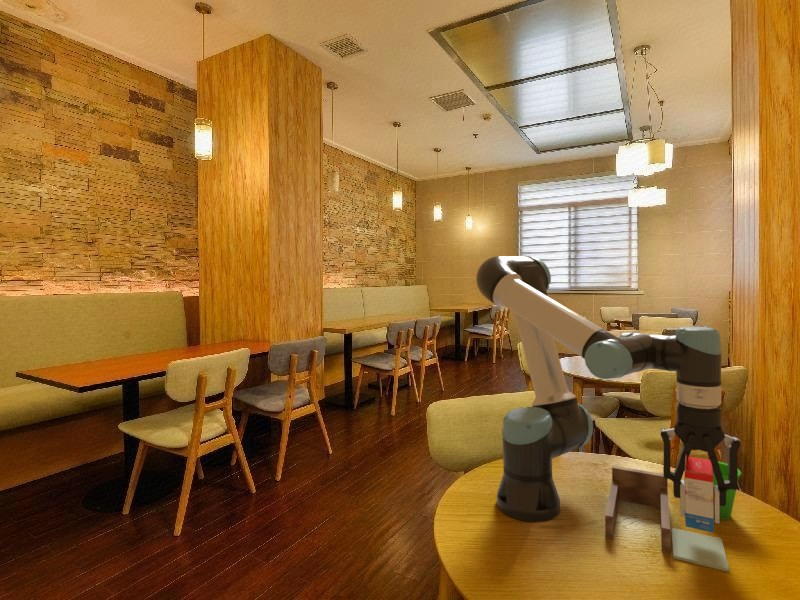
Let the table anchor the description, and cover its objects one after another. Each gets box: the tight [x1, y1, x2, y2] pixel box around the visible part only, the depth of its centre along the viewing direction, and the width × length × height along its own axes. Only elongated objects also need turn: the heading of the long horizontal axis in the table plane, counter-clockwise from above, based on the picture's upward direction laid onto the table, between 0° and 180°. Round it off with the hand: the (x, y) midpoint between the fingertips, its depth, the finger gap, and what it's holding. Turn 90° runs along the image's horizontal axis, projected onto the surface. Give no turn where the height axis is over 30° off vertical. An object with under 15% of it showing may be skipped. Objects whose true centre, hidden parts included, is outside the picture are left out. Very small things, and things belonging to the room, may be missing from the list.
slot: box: [604, 465, 671, 554], centre depth 101 cm, size 12×20×8 cm, turn 150°
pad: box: [670, 527, 730, 573], centre depth 91 cm, size 9×11×1 cm
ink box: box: [683, 454, 715, 533], centre depth 91 cm, size 8×5×15 cm, turn 147°
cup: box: [713, 461, 743, 520], centre depth 104 cm, size 9×9×11 cm
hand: (699, 516), depth 90 cm, fingers closed on ink box, 5 cm apart
